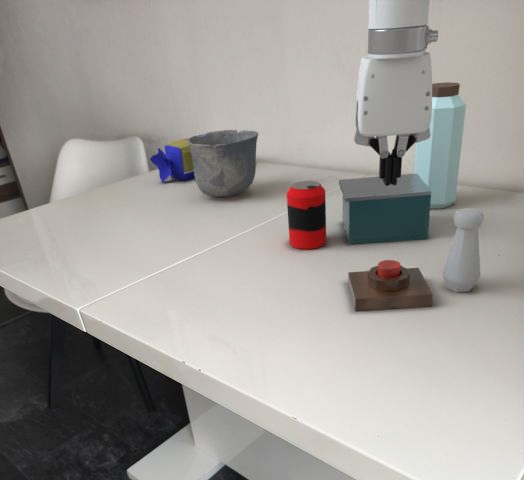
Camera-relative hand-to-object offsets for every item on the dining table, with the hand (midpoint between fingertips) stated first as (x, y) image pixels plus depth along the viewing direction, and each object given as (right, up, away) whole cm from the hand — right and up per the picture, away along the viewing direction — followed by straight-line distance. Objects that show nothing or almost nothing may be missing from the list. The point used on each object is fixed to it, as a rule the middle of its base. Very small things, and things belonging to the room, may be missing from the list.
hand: (389, 182), depth 81 cm
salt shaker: (+14, -15, +9) cm, 22 cm away
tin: (+6, 0, +33) cm, 33 cm away
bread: (-39, +29, +85) cm, 98 cm away
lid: (+5, +7, +28) cm, 29 cm away
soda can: (-10, -3, +30) cm, 32 cm away
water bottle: (+21, +9, +44) cm, 50 cm away
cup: (-28, +16, +63) cm, 71 cm away
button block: (+2, -16, +8) cm, 18 cm away
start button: (+1, -13, +6) cm, 14 cm away
